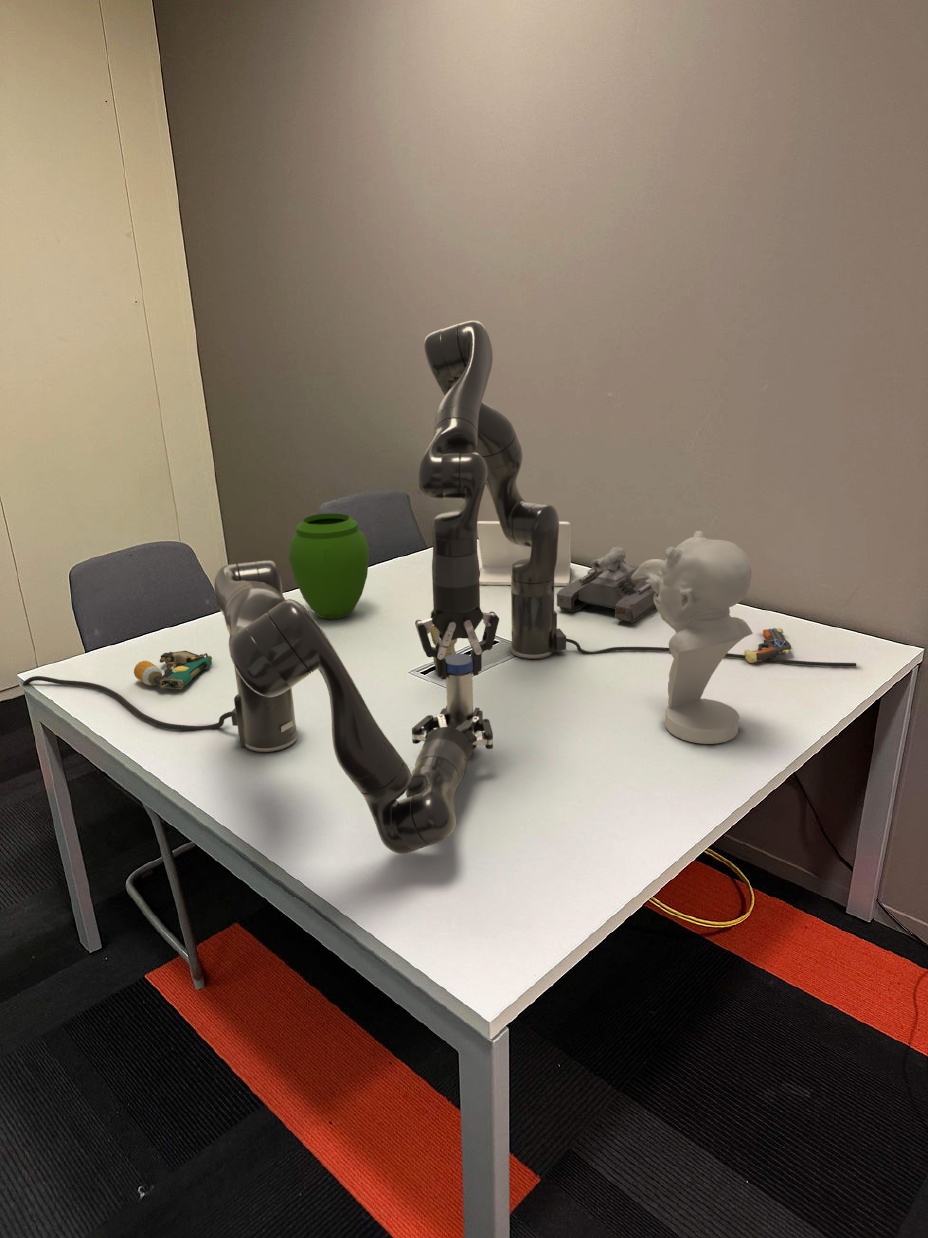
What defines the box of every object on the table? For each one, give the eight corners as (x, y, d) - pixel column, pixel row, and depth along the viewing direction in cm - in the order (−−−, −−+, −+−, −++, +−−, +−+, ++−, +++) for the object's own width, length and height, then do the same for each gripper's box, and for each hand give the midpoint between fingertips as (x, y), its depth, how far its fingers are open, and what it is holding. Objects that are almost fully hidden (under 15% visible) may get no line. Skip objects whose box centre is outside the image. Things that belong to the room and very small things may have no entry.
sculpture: (458, 662, 183) (456, 596, 178) (460, 676, 176) (457, 608, 171) (431, 663, 183) (428, 597, 177) (431, 677, 176) (428, 609, 171)
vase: (389, 608, 216) (383, 514, 208) (339, 633, 201) (330, 533, 192) (330, 596, 226) (322, 506, 218) (278, 619, 211) (267, 523, 202)
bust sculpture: (671, 682, 170) (682, 511, 158) (763, 732, 151) (784, 540, 138) (606, 701, 164) (613, 523, 151) (694, 755, 144) (709, 555, 131)
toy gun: (746, 653, 177) (797, 650, 175) (736, 627, 195) (782, 623, 193) (747, 666, 178) (798, 663, 176) (736, 638, 195) (782, 635, 193)
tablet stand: (569, 585, 229) (570, 524, 223) (476, 584, 232) (475, 523, 226) (570, 566, 246) (571, 508, 240) (484, 564, 249) (483, 507, 243)
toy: (603, 584, 229) (605, 530, 224) (673, 597, 218) (677, 540, 213) (555, 612, 210) (556, 553, 205) (630, 627, 199) (633, 566, 194)
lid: (478, 665, 142) (478, 656, 142) (465, 676, 138) (464, 667, 138) (452, 660, 144) (452, 651, 144) (438, 671, 140) (438, 662, 140)
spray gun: (177, 659, 191) (231, 671, 185) (120, 684, 176) (176, 698, 171) (176, 641, 190) (230, 653, 184) (118, 665, 175) (174, 678, 169)
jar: (444, 757, 146) (441, 666, 140) (454, 745, 150) (451, 656, 144) (468, 761, 144) (466, 669, 138) (477, 749, 148) (475, 659, 142)
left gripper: (487, 743, 129) (504, 694, 145) (396, 736, 132) (422, 689, 147) (488, 786, 132) (504, 733, 147) (398, 778, 134) (424, 728, 150)
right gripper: (492, 567, 141) (494, 661, 147) (407, 575, 138) (412, 672, 144) (505, 580, 134) (506, 679, 140) (416, 589, 131) (421, 690, 137)
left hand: (463, 711), depth 147 cm, fingers closed on jar, 4 cm apart
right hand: (458, 675), depth 142 cm, fingers closed on lid, 4 cm apart
